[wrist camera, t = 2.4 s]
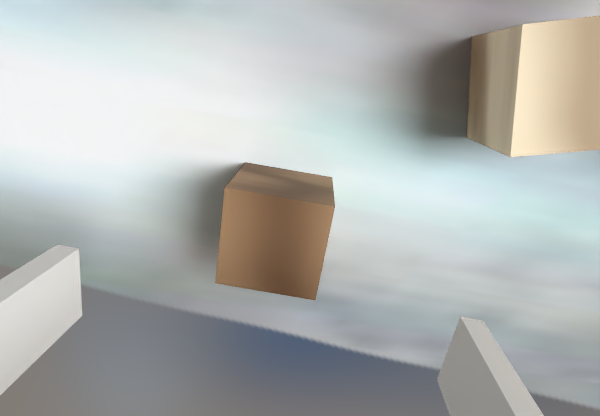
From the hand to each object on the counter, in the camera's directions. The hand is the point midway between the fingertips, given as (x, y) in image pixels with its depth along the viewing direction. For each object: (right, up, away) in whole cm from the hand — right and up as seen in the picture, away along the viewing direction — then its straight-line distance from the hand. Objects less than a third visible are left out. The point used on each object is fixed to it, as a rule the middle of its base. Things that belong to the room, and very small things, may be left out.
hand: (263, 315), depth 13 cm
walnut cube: (0, +4, +9) cm, 10 cm away
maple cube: (+12, +10, +6) cm, 17 cm away
